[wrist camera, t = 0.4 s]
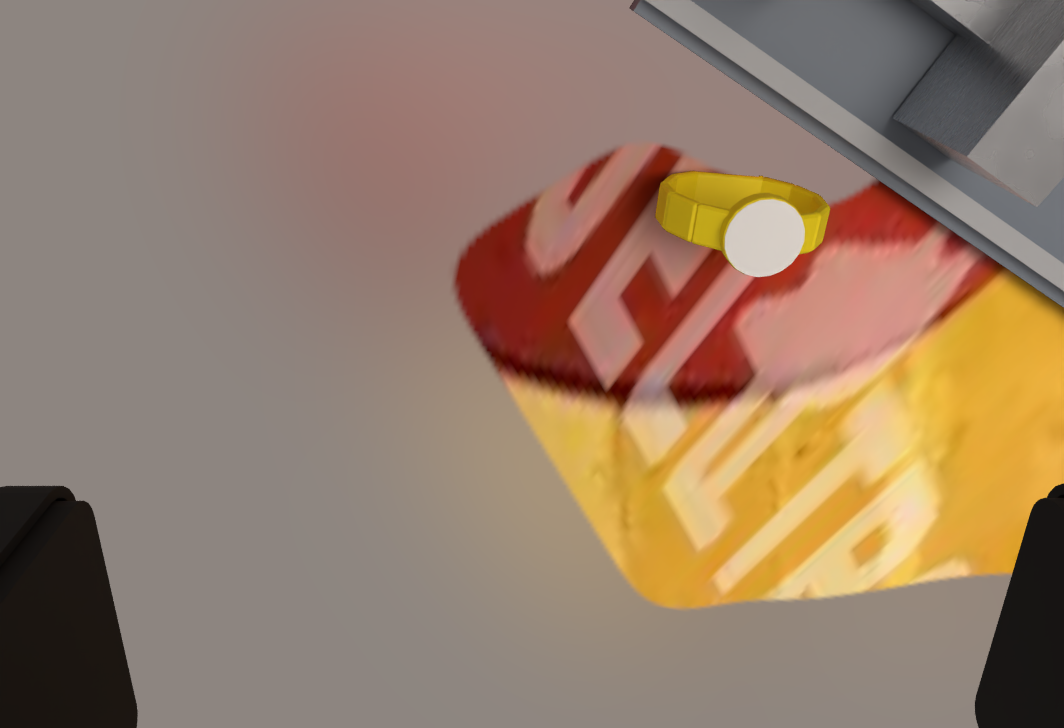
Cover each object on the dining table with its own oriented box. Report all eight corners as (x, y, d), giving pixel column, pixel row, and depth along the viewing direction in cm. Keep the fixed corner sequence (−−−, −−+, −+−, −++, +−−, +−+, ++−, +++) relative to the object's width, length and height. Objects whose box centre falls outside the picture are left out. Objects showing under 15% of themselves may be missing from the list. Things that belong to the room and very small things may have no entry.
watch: (801, 159, 35) (866, 203, 30) (786, 228, 36) (845, 282, 31) (650, 149, 34) (689, 193, 29) (640, 219, 36) (675, 273, 30)
